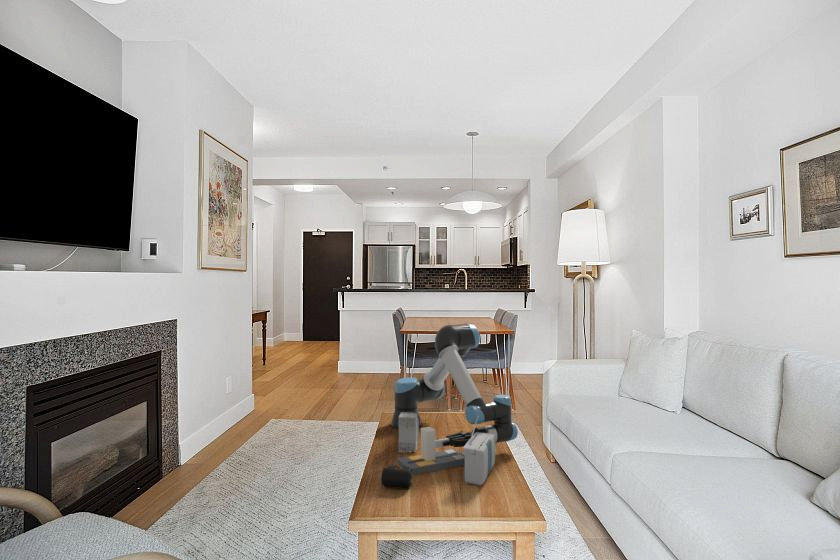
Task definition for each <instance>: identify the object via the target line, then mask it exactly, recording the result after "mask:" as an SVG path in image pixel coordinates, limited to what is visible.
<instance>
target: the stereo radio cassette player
mask: <svg viewBox="0 0 840 560" xmlns="http://www.w3.org/2000/svg"><path fill="white" fill-rule="evenodd" d="M478 417H479V416H477V419H478ZM476 423H477V420H476ZM476 423H475V424H474V427H473V428H472V430H473V432H472V431H471V432H472V436H471V438H470V439H469V441H468V442H467V443H466V444H465V446H464V447H462V449H461V450H462V454H463V453H464V455H465V465H464V483H466V484H471V485H476V486H480V487H481V486H482V485H483V484H484V483H485V481H486V480H487V478H488V476H489V475H490V472H491V471H492V469H493V467H494V466H495V463H496V462H495V461H496V443H495V437H494V435H493V434H488V433H479V432H476V433H474V430H475V428H476V427H477V424H476ZM473 433H474V435H473Z"/></svg>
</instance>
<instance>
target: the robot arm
mask: <svg viewBox="0 0 840 560" xmlns="http://www.w3.org/2000/svg"><path fill="white" fill-rule="evenodd" d="M480 341H481V337H480V332H479V329H478V327H476V326H475V325H474V324H471V323H462V324H460V323H459V324H450V325H449V324H448V325H443V326H442V327H440V328H439V330H437V333H436V334H435V338H434V348H435V351H436V353H437V355H438V359H437V361H436V362H435V363H434V365H433V367H431V369H430V371H427V372H426V373H424V374H423V376H422V378H420V379H417V377H412V376H409V377H403V378H400V379H397V380H396V381H395V383H394V391H393V392H394V410H393V414H392V418H391V420H390V422H391V423H390V424H391V425H390V426H391V427H393V429H398V430H399V427H398V421H399V415H400V413H401V412H409V413H418V418H419V428H420V427H421V425H422V421H421V420H422V419H421V417H420V413H419V409H418V404H419V403H425V402H430V401H436V400H440V399H441V398H442V397H443V396H444V394H445V389H446V386H445V381H446V379H447V377H448V376H449V374H450V376H451V378H452V380H453V382H454V384H455V386H456V388H457V390H458V392H459V395H460V396H461V399H462V400H463V402H464V404H465V407H466V408H465V410H464V415H465V420H466V421H467V422H468V423H469V424H470V425H475V423H476V420H477V423H476V425H481V424H484V423H488V422H493V424H489V425H483V426H478V427H477V426H475V430H474V433H476V432H479V433H488V434H493V435H494V437H495V444H498V443H504V442H505V443H506V442H509V441H510V442H511V441H513V440H515V439H516V438H517V437H518V433H519V432H518V431H519V430H518V429H517V428H518V427H517V425H516V424H515V422H513V421H512V400H511V399H512V398H511V397H510V396H509V395H507V394H496V395H493V399H492V401H490V402H485V401H484V399H483V397H482V396H481V393H480V391H479V390H478V388H477V385H476V384H475V382H474V380H473V379H472V376H471V374H470V373H469V371H468V368H467V367H466V364H465V362H464V360H463V359H462V357H465V356H466V355H467V354H468V352H469V351H470V350H471V349H476V348H477V347H479V345H480ZM477 416H479V417H478V419H477ZM472 432H473V429H472V430H471V431H467V432H464V431H462V430H460V431H458V432H455V433H452V434H448V435H446V436H445V438H439V439H436V449H440V448H444V447H445V448H446V447H450V446H451V447H454V448H461V447H462V448H463V447H464V446H465V444H466V443H467V442H468V441H469V439H470V438H471V436H472ZM474 433H473V435H474Z"/></svg>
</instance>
